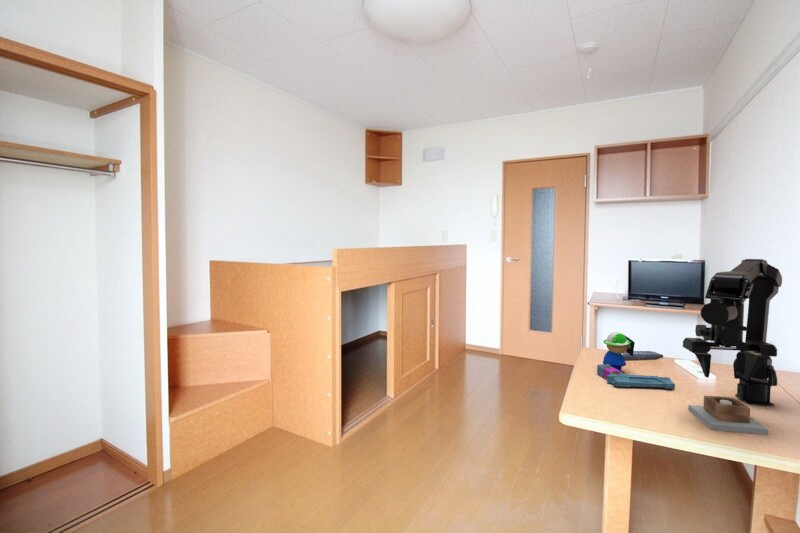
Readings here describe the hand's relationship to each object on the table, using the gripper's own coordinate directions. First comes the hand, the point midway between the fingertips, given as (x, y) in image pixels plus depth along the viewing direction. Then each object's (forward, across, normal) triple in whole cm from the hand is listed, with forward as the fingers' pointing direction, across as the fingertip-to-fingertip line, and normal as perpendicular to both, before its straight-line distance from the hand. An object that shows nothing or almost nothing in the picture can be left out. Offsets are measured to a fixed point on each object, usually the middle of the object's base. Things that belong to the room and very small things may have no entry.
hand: (726, 378), depth 101 cm
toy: (+12, +16, -37) cm, 42 cm away
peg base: (+12, 0, 0) cm, 12 cm away
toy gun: (+12, +13, -27) cm, 33 cm away
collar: (+10, 0, 0) cm, 10 cm away
